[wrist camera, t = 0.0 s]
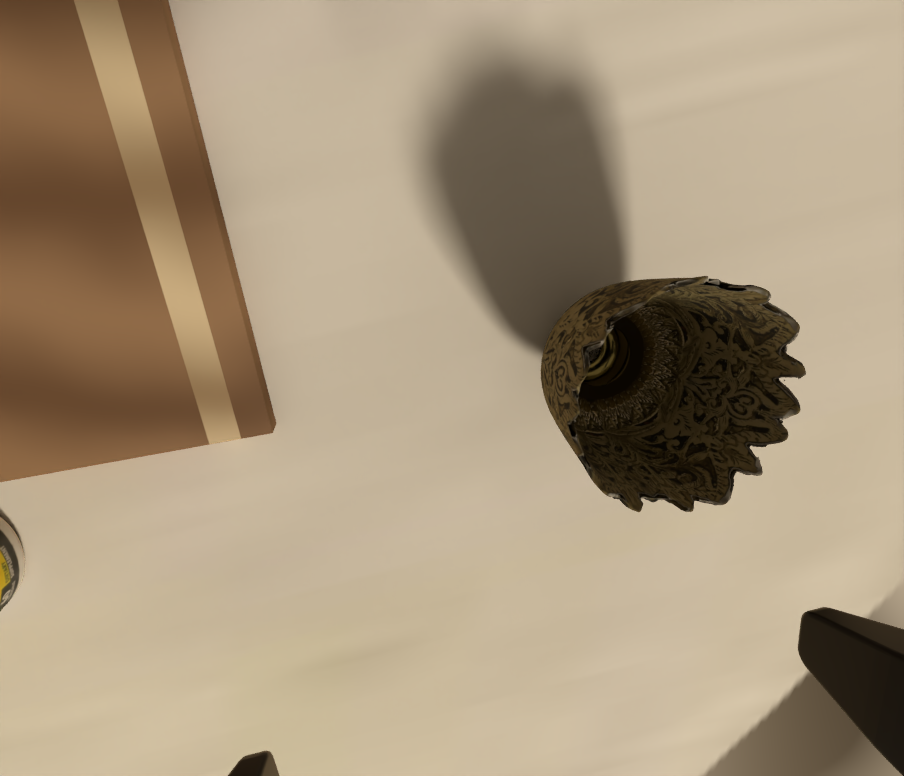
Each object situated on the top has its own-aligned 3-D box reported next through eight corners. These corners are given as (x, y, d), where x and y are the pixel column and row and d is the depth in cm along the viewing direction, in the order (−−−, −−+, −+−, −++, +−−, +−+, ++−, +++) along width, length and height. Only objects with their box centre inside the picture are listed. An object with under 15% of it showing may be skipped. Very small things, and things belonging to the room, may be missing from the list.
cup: (485, 414, 23) (548, 506, 15) (523, 245, 21) (618, 254, 13) (633, 434, 24) (757, 526, 17) (682, 279, 22) (846, 305, 15)
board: (-288, -203, 13) (-338, -236, 13) (113, -212, 15) (97, -242, 14) (13, 470, 20) (-4, 482, 19) (276, 423, 21) (272, 432, 20)
